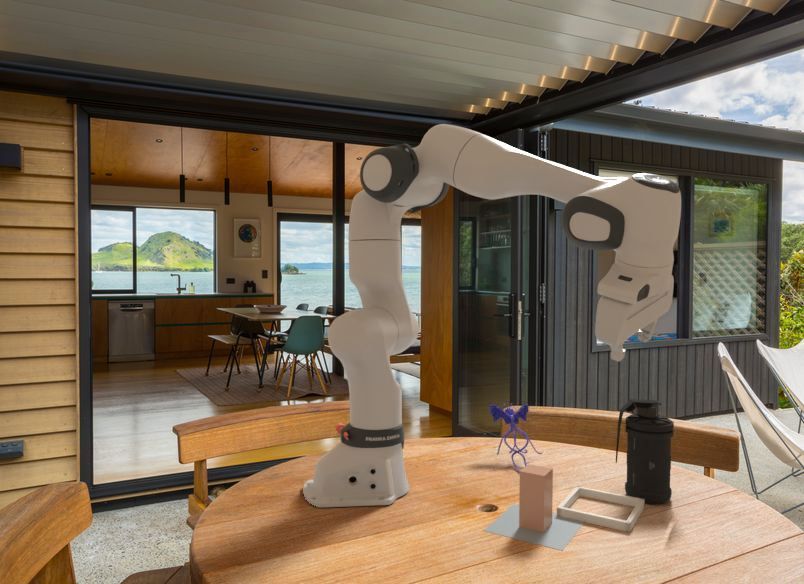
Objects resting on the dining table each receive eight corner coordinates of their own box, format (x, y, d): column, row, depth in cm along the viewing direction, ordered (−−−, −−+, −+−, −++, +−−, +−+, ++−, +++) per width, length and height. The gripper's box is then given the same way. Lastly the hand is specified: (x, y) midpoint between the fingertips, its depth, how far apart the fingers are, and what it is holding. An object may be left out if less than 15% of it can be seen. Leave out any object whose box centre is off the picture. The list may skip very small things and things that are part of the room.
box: (629, 540, 106) (630, 523, 105) (556, 523, 113) (556, 507, 112) (644, 514, 117) (644, 499, 116) (576, 500, 124) (576, 486, 123)
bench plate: (562, 559, 99) (562, 550, 99) (483, 538, 106) (483, 530, 106) (585, 528, 111) (586, 520, 110) (513, 511, 118) (513, 503, 118)
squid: (486, 503, 147) (497, 459, 136) (466, 393, 174) (474, 347, 162) (544, 502, 148) (559, 458, 137) (516, 392, 175) (527, 347, 163)
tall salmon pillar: (543, 532, 105) (544, 476, 105) (519, 526, 108) (519, 471, 107) (552, 523, 109) (552, 468, 109) (528, 517, 111) (528, 464, 111)
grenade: (676, 507, 120) (679, 407, 119) (618, 503, 122) (620, 404, 121) (666, 490, 129) (668, 397, 128) (612, 486, 131) (613, 395, 130)
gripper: (652, 254, 108) (642, 324, 113) (591, 287, 95) (583, 363, 101) (688, 263, 104) (675, 335, 109) (629, 298, 91) (618, 377, 96)
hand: (631, 349), depth 105 cm, fingers open, 8 cm apart
